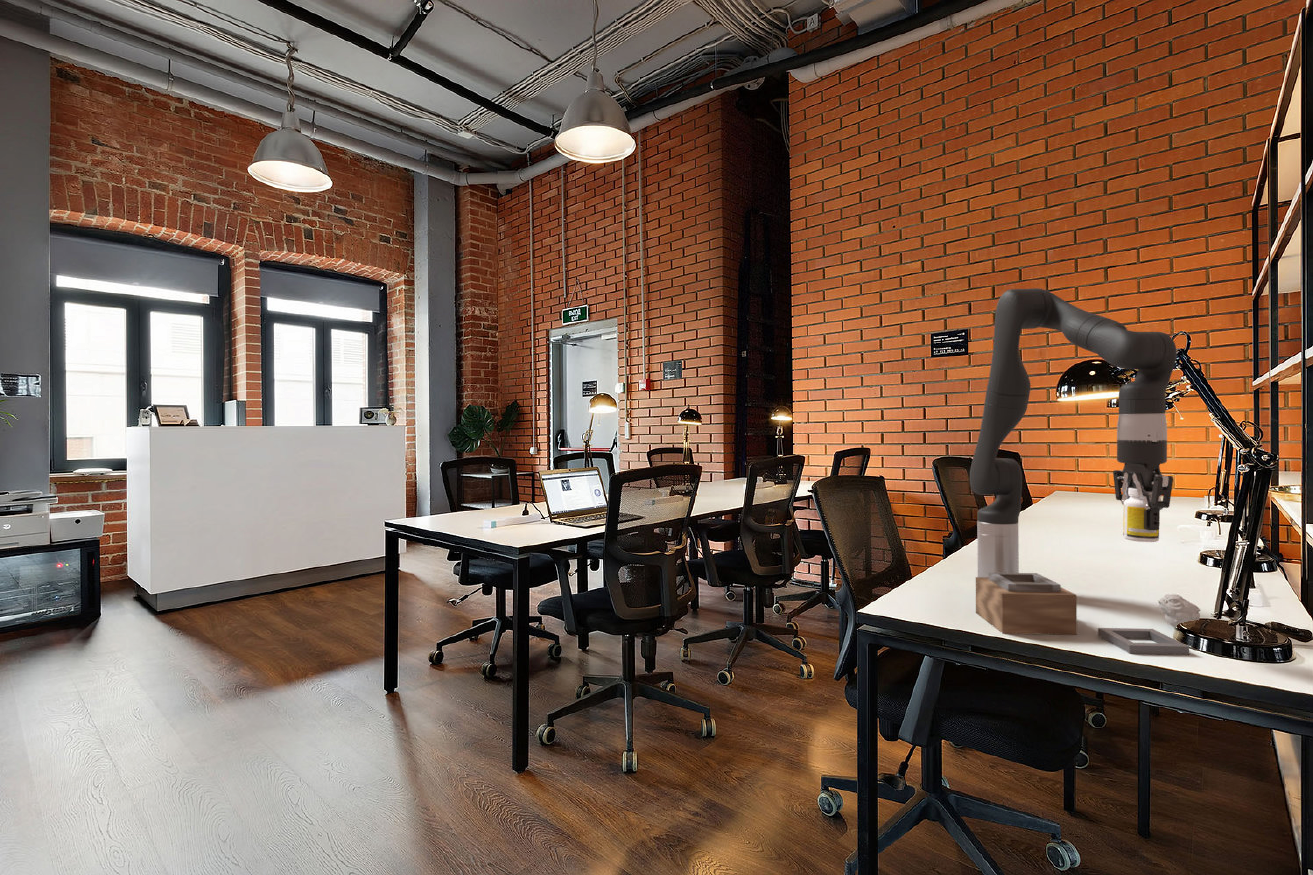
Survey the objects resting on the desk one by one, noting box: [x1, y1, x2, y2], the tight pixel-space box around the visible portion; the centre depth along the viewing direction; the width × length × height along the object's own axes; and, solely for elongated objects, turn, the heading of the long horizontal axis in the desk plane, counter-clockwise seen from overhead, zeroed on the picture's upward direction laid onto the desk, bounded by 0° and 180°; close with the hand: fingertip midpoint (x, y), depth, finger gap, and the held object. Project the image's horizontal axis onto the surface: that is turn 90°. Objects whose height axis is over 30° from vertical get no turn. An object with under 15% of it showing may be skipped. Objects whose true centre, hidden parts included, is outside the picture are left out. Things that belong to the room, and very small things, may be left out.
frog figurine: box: [1157, 593, 1201, 629], centre depth 129 cm, size 6×7×7 cm
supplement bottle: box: [1122, 488, 1160, 543], centre depth 120 cm, size 5×5×10 cm
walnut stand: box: [975, 572, 1078, 636], centre depth 134 cm, size 14×14×10 cm
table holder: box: [1097, 627, 1190, 656], centre depth 120 cm, size 10×10×2 cm
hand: (1141, 526), depth 120 cm, fingers closed on supplement bottle, 5 cm apart
